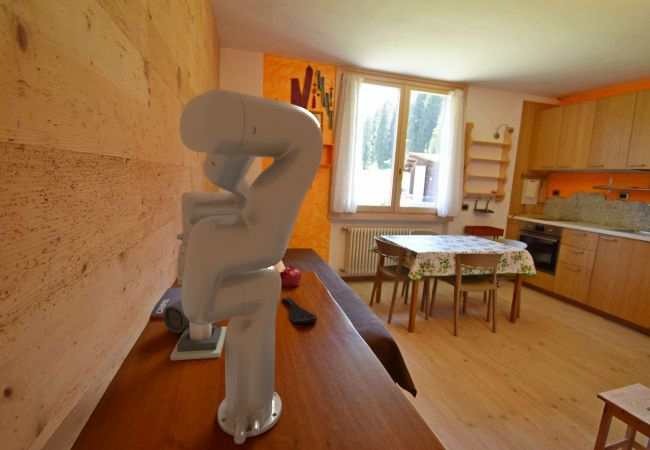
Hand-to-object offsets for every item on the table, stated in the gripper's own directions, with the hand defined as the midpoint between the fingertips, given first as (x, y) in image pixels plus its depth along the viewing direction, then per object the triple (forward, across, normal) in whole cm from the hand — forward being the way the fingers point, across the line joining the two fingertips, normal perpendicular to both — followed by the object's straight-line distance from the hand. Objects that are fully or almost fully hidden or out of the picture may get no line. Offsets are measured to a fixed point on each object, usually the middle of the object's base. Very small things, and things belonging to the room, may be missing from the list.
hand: (200, 303), depth 83 cm
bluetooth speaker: (+12, -2, +14) cm, 18 cm away
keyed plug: (+11, 0, 0) cm, 11 cm away
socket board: (+12, 0, 0) cm, 12 cm away
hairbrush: (+13, +28, +18) cm, 36 cm away
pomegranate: (+12, +28, +45) cm, 54 cm away
